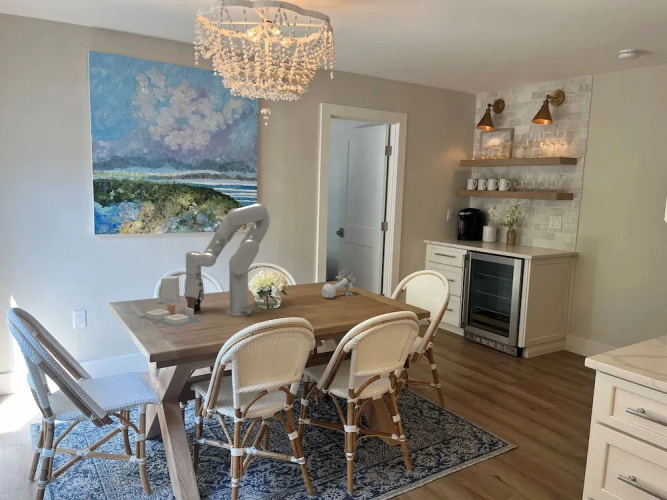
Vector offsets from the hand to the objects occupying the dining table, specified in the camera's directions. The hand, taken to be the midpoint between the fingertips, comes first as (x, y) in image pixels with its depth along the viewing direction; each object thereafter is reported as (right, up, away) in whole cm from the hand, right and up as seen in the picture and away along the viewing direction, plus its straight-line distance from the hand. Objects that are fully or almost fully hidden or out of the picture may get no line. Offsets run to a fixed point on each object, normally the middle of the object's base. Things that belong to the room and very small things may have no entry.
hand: (193, 310), depth 257 cm
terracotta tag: (-11, -1, -3) cm, 11 cm away
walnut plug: (0, -2, 0) cm, 2 cm away
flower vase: (+75, +2, +52) cm, 92 cm away
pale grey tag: (+1, -3, -11) cm, 11 cm away
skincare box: (-18, +1, +20) cm, 27 cm away
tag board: (-8, -4, -12) cm, 15 cm away
